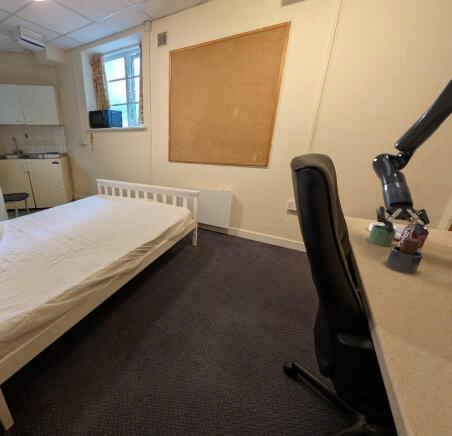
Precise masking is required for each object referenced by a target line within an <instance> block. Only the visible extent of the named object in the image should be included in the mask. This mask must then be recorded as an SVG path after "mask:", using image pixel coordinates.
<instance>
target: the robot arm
mask: <svg viewBox="0 0 452 436" xmlns="http://www.w3.org/2000/svg"><path fill="white" fill-rule="evenodd" d="M451 115H452V78H450V80H449V82H448V83H447V84H446V85H445V87H444V88H443V89H442V91H441V92H440V94H439V95H438V96H437V98H436V99H434V102H433V103H432V104H431V105H430V106H429V107H428V109H427V110H425V112H424V113H423V114H421V116H420V117H419V118H418V119H417V120H416V121H415V122H414V123H413V124H412V125H411V126H410V127H409V128H407V130H406V131H405V132H404V133H403V134H402V135H401V136H400V138H398V139H397V140H396V142H395V143H394V144H393V147H394V148H395V149H396V150H397V151H398V152H397V153H396V154H392V153H387V152H383V153H382V152H381V153H379V154H377V155H376V156H375V157H374V158H373V160H372V162H371V166H372V170H373V172H374V173H375V174H376V177H377V178H378V179H379V181H380V185H381V191H382V192H381V193H382V198H383V203H384V206H383V205H381V206H378V208H376V210H375V212H376V221H377V223H381V224H385V229H386V231H388V233H392V232H394V228H393V226H394V223H393V221H394V220H395V221H399V220H400V221H406V222H407V223H408V224H413V225H414V226H415V227H414V228H415V232H416V235H417V236H421V235H423V234H424V233H425V231H424V227H423V226H425V227H426V225H429V224H431V221H430V218H429V216H428V214H427V211H426V209H425V208H421V209H415V208H414V201H413V198H412V193H411V190H410V189H411V188H410V187H409V185H408V182H407V178H406V175H405V174H404V172H402V170H403V169H405V168H406V167H407V165H409V162H410V161H411V159H412V158H413V156H414V155H415V153H416V152H417V150H418V149H419V148H420V147H421V146H422V145H424V144H425V142H427V141H428V140H429V139H430V138H431V137H432V136H433V135H434V134H435V133H436V132H437V130H439V128H440V127H441V126H442V125H443V124H444V123H445V121H446V120H447V119H448V118H449V117H450V116H451ZM386 214H387V215H388V216H387V217H386Z"/></svg>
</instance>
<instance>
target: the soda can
mask: <svg viewBox="0 0 452 436" xmlns="http://www.w3.org/2000/svg"><path fill="white" fill-rule="evenodd" d="M414 227H415V226H414V225H413V224H412V223H408V224H407V225H406V226H404V227H403V228H404V230H403V232H402V234H401V237H400V239H399V240H398V241H397V244H396V246H401V245H402V243H403V241H404V238H414V239H417V240H419V241H420V244H419V246H418V248H417V250H416V251H419V252H421V251H422V249H423V248H424V247H423V246H424V245H425V242H426V240H427V238H428V236H429V235H430V232H429V227H427V226H426V225H425V226H423V227H424V231H425V233H424V234H423V235H421V236H417V235H416V232H415V228H414Z"/></svg>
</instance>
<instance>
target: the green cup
mask: <svg viewBox="0 0 452 436" xmlns="http://www.w3.org/2000/svg"><path fill="white" fill-rule="evenodd" d="M396 232H397V230H396V229H394V232H392V233H388V231H386V229H385V226H382V225H374V226H373V227H372V230H371V231H370V233H369V235H368V238H367V241H368V242H370V243H372V244H375V245H377V246H381V247H382V246H383V247H391V246H392V244H393V242H394V241H395V239H394V237H395V235H396Z"/></svg>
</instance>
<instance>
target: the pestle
mask: <svg viewBox="0 0 452 436" xmlns="http://www.w3.org/2000/svg"><path fill="white" fill-rule="evenodd" d="M419 244H420V241H419V240H417V239H414V238H404V241H403V243H402V245H401V248H400V250H399V252H401V253H404V254H407V255H412V256H414V255H415V252H416V250H417V248H418V246H419Z"/></svg>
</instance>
